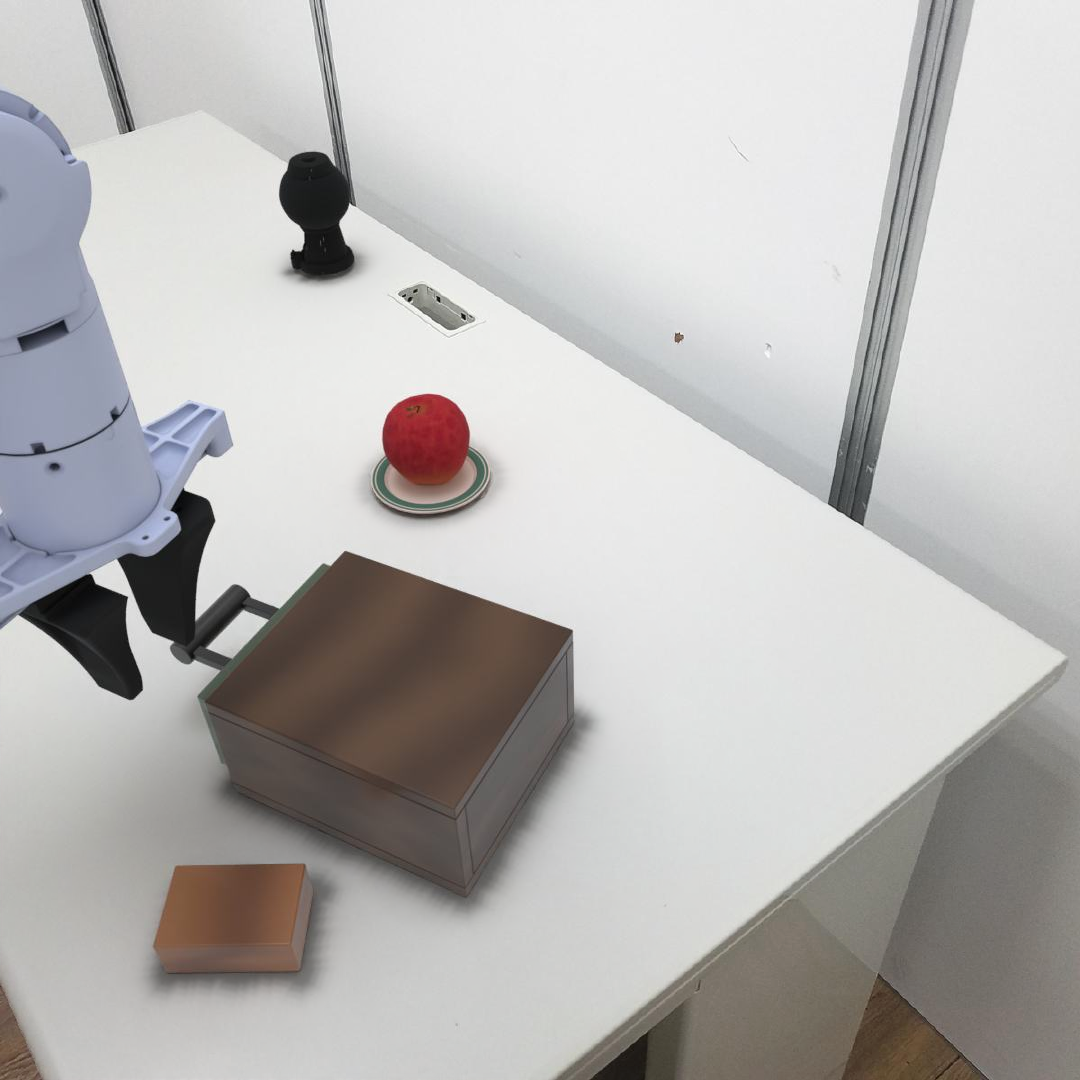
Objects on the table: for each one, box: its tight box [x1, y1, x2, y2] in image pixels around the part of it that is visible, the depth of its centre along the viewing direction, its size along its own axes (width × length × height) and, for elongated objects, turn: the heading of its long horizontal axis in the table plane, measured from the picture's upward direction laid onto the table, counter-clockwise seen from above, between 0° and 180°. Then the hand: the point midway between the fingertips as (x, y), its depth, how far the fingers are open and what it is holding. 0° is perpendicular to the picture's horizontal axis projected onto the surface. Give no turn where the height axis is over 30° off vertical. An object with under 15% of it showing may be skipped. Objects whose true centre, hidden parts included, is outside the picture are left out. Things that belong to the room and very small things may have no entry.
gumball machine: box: [278, 147, 355, 278], centre depth 95 cm, size 7×6×10 cm
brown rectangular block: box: [152, 863, 315, 974], centre depth 50 cm, size 6×4×2 cm, turn 90°
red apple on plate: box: [370, 393, 491, 515], centre depth 73 cm, size 8×8×6 cm
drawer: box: [169, 563, 331, 766], centre depth 57 cm, size 17×10×5 cm, turn 63°
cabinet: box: [204, 550, 575, 898], centre depth 56 cm, size 14×12×7 cm
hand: (147, 661), depth 49 cm, fingers open, 3 cm apart
